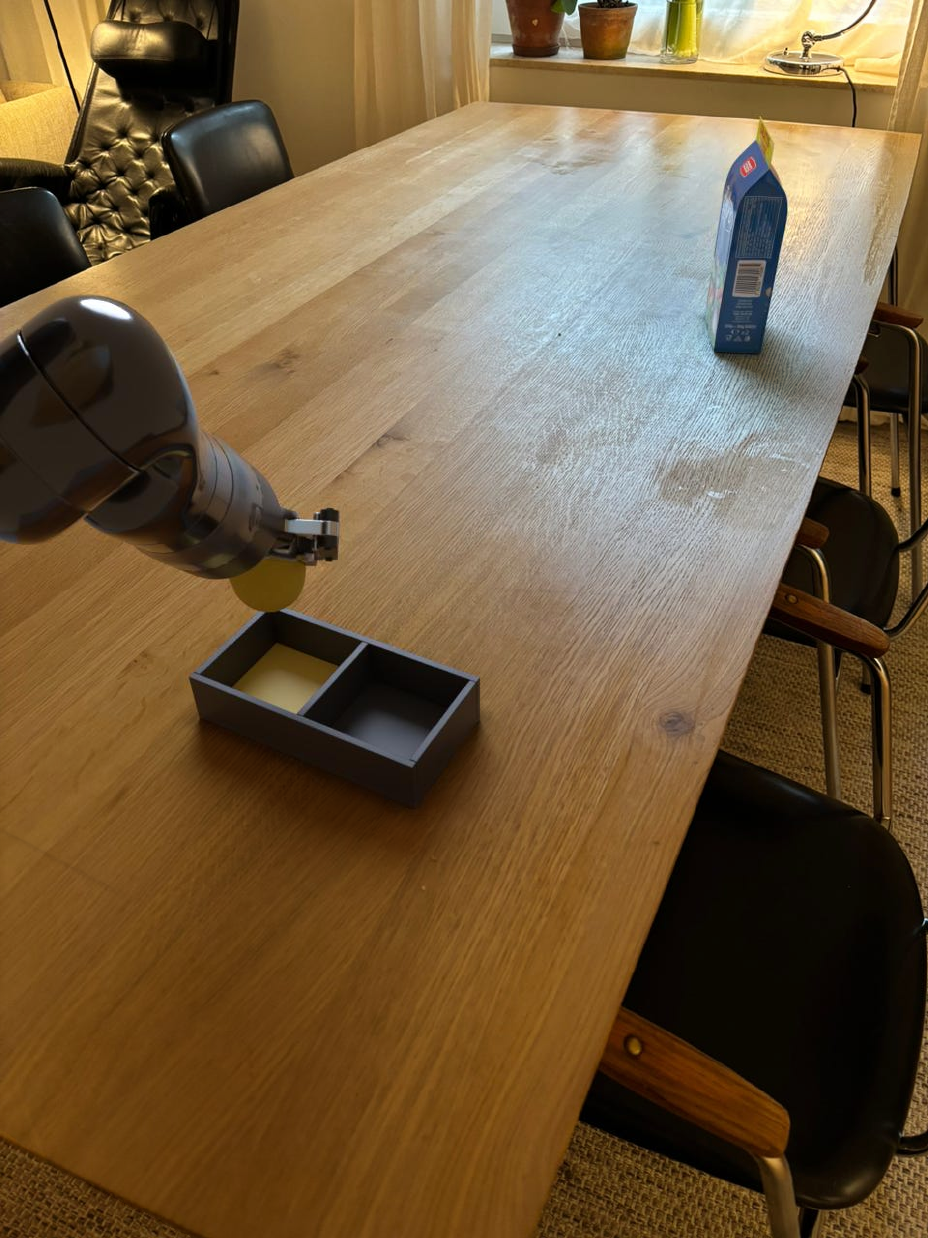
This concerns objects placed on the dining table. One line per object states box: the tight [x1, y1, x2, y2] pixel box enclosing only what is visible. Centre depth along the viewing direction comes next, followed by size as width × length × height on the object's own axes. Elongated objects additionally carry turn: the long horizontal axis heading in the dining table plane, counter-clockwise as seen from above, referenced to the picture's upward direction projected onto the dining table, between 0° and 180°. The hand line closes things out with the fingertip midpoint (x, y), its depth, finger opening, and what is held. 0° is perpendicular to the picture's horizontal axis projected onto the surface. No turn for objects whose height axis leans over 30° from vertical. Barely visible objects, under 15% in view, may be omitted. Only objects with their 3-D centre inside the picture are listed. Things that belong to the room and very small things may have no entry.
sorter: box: [188, 607, 481, 810], centre depth 77 cm, size 10×20×4 cm, turn 62°
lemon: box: [228, 549, 307, 612], centre depth 71 cm, size 6×6×8 cm
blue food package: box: [704, 116, 789, 354], centre depth 123 cm, size 6×12×25 cm, turn 175°
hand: (271, 550), depth 73 cm, fingers closed on lemon, 5 cm apart
